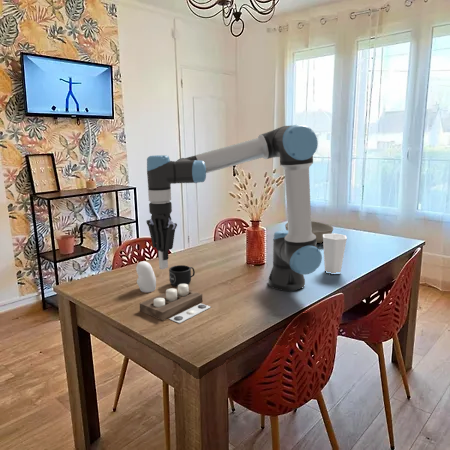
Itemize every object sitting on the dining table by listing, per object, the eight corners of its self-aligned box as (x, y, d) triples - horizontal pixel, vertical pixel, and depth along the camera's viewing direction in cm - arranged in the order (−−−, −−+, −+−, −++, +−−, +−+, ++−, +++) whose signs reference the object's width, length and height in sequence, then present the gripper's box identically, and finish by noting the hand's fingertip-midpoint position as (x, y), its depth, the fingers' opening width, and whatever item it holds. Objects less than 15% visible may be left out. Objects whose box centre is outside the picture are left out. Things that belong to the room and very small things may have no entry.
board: (202, 301, 148) (202, 294, 147) (162, 320, 132) (162, 312, 132) (179, 293, 155) (179, 286, 154) (139, 311, 140) (139, 303, 139)
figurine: (138, 286, 163) (137, 259, 160) (157, 286, 164) (155, 258, 161) (136, 293, 156) (134, 264, 153) (155, 292, 157) (154, 264, 154)
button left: (167, 310, 139) (167, 299, 138) (159, 313, 136) (158, 303, 135) (160, 307, 142) (159, 296, 141) (151, 310, 139) (151, 300, 138)
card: (211, 307, 142) (210, 306, 142) (179, 323, 130) (179, 322, 130) (200, 304, 146) (200, 302, 145) (169, 319, 133) (169, 318, 133)
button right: (190, 295, 148) (190, 285, 147) (183, 298, 145) (183, 288, 144) (183, 292, 151) (183, 282, 150) (175, 295, 148) (175, 285, 147)
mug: (177, 290, 159) (177, 273, 157) (165, 284, 166) (164, 268, 164) (201, 283, 167) (200, 267, 165) (188, 277, 173) (188, 262, 172)
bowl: (280, 236, 244) (280, 220, 242) (322, 235, 247) (323, 219, 245) (292, 248, 217) (292, 231, 215) (339, 247, 220) (340, 229, 218)
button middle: (179, 300, 144) (179, 290, 143) (171, 303, 140) (171, 293, 140) (172, 297, 146) (171, 287, 145) (164, 301, 143) (163, 290, 142)
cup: (349, 272, 179) (351, 236, 175) (338, 278, 171) (340, 240, 168) (326, 267, 186) (328, 232, 182) (315, 272, 179) (317, 236, 175)
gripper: (181, 201, 131) (184, 268, 136) (155, 198, 139) (158, 261, 144) (165, 205, 125) (169, 274, 131) (138, 201, 133) (143, 267, 138)
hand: (163, 267), depth 137 cm, fingers closed
